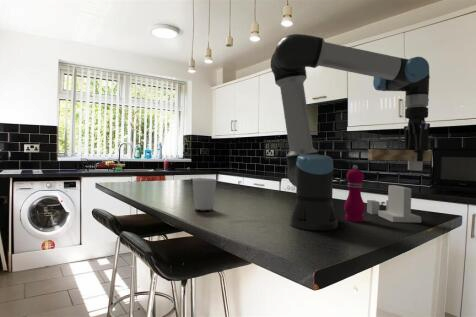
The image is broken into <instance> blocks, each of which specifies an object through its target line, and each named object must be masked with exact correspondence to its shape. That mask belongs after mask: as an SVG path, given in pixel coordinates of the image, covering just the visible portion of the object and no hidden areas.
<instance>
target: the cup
mask: <svg viewBox="0 0 476 317" xmlns="http://www.w3.org/2000/svg"><path fill="white" fill-rule="evenodd" d="M216 187H217V179H216V178H206V177H205V178H204V177H203V178H193V179H192V192H193V203H194V204H193V205H194V211H196V212H199V210H200V212H201V211H204V212H205V211H206V212H212V211H213V210H214V207H215V206H214V205H215V198H216V197H215V196H216ZM212 209H213V210H212Z"/></svg>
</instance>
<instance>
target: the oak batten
mask: <svg viewBox="0 0 476 317" xmlns="http://www.w3.org/2000/svg"><path fill="white" fill-rule="evenodd" d="M414 151H416V149H415V150H405V149H382V148H379V149H376V148H371V149H368V152H367V160H368V161H395V162H396V161H398V162H402V161H404V162H408V161H414V153H416V152H414ZM432 158H433V156H432V150H428V149H427V151H424V153H423V162H432V160H433V159H432Z"/></svg>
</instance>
